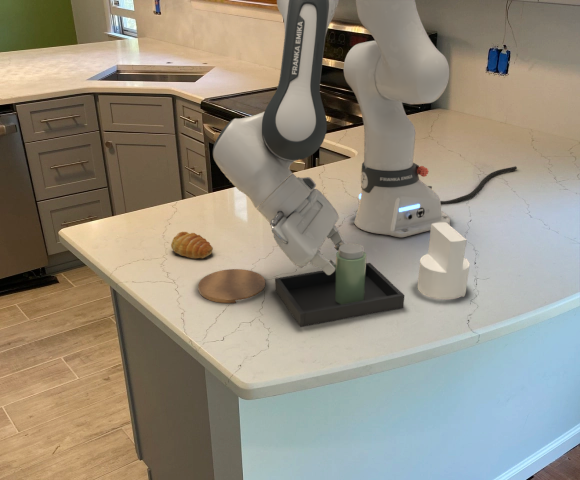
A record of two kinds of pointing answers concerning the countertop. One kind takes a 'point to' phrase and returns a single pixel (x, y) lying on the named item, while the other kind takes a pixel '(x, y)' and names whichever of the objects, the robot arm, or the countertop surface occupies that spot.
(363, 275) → the salt shaker
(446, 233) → the base with upright slab
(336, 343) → the countertop surface
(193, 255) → the pastry
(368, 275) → the tray
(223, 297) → the coaster
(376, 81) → the robot arm
